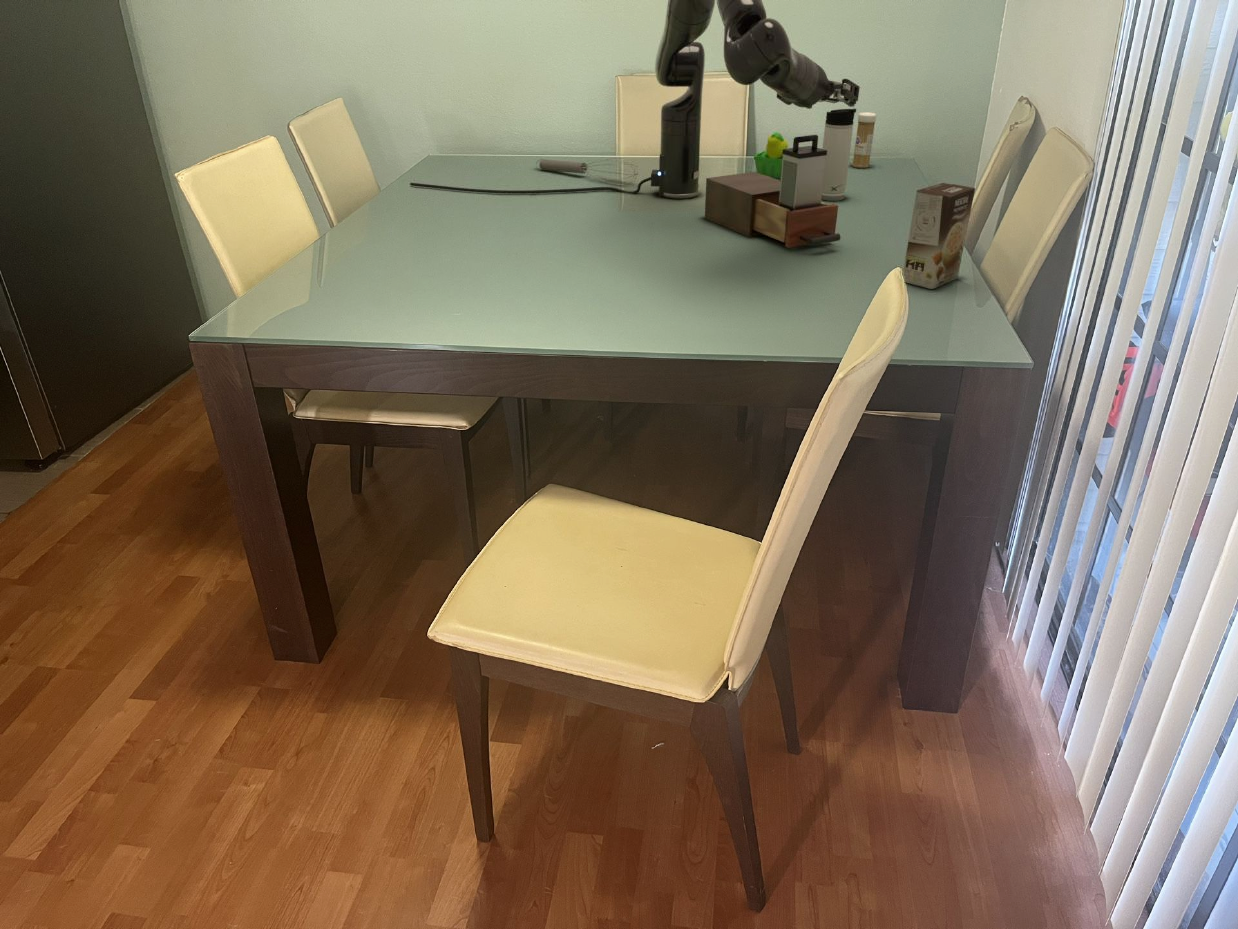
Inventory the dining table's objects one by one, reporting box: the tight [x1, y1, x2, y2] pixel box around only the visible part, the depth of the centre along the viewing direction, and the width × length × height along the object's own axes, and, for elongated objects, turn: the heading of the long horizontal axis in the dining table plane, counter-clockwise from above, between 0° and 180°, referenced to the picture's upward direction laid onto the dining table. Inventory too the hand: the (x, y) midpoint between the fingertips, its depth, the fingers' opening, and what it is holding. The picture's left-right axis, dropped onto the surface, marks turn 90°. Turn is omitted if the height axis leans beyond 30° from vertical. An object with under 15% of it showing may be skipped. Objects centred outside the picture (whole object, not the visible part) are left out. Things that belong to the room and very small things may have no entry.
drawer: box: [753, 195, 842, 249], centre depth 180 cm, size 20×11×7 cm, turn 29°
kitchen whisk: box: [535, 157, 639, 186], centre depth 230 cm, size 6×34×6 cm, turn 51°
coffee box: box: [902, 182, 976, 290], centre depth 157 cm, size 9×6×16 cm
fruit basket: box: [753, 131, 789, 180], centre depth 228 cm, size 11×9×11 cm
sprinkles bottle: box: [851, 112, 877, 169], centre depth 237 cm, size 5×5×14 cm
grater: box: [779, 134, 827, 211], centre depth 176 cm, size 5×7×18 cm
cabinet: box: [704, 171, 781, 238], centre depth 191 cm, size 17×13×9 cm
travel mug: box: [821, 108, 857, 202], centre depth 207 cm, size 6×7×20 cm
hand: (831, 102), depth 171 cm, fingers open, 8 cm apart
